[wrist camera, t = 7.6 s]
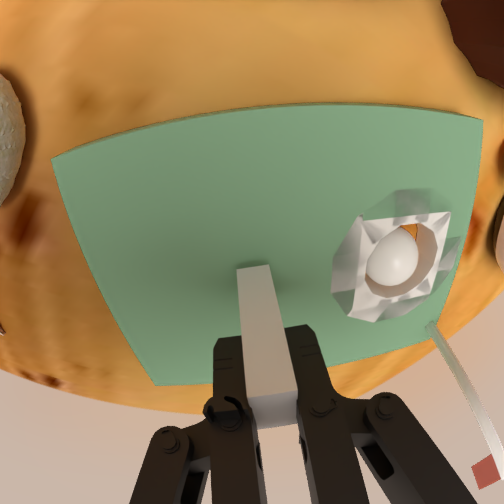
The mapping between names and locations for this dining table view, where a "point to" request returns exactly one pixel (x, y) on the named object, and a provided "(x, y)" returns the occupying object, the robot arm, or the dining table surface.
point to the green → (277, 229)
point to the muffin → (479, 34)
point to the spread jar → (499, 236)
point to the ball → (393, 258)
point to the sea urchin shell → (10, 137)
